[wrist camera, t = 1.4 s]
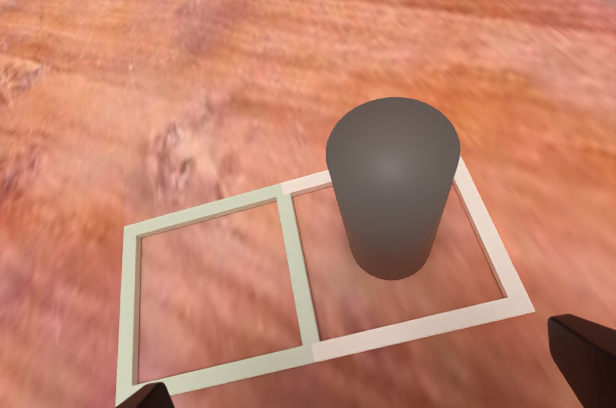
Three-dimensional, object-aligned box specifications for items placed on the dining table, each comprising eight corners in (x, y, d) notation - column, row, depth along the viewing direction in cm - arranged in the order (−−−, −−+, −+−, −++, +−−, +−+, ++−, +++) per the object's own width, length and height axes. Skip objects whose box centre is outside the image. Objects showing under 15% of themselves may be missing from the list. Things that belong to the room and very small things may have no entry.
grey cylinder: (440, 218, 23) (475, 110, 14) (417, 292, 21) (439, 225, 12) (365, 196, 25) (352, 87, 16) (338, 263, 23) (305, 185, 14)
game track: (449, 140, 25) (451, 135, 25) (531, 313, 20) (535, 311, 19) (129, 229, 27) (124, 226, 27) (121, 407, 22) (115, 408, 21)
